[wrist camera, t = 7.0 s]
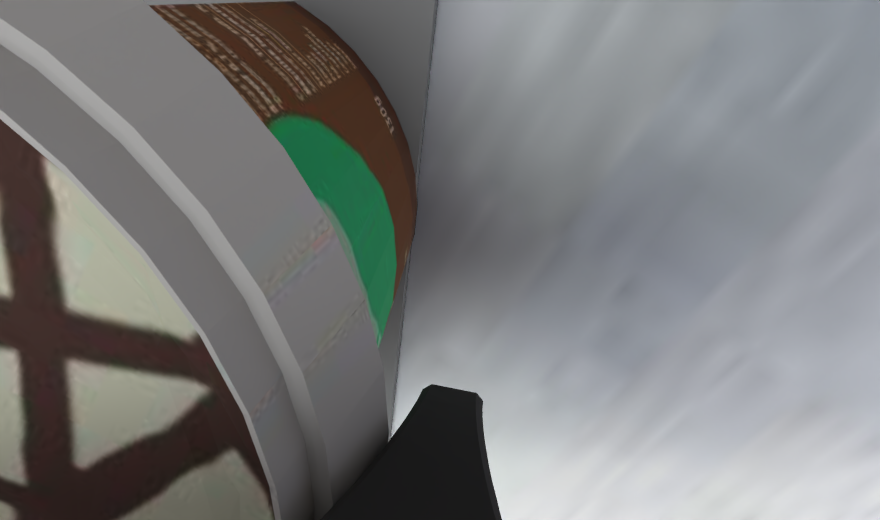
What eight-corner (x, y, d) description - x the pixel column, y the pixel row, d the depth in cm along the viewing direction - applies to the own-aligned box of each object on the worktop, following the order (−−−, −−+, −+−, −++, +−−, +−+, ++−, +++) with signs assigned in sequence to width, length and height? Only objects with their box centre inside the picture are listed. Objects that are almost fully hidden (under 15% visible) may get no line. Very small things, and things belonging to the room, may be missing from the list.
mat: (469, -292, 12) (466, -298, 12) (381, 516, 21) (378, 526, 21) (-335, -379, 14) (-359, -386, 13) (-94, 416, 23) (-105, 423, 22)
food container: (331, 460, 20) (140, 887, 11) (141, 353, 20) (-217, 712, 11) (581, 96, 14) (593, 378, 6) (323, -67, 14) (-115, -43, 5)
